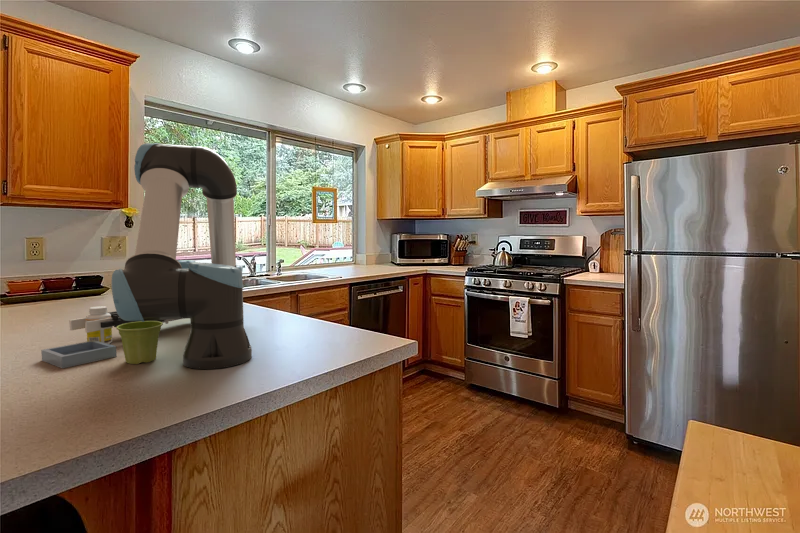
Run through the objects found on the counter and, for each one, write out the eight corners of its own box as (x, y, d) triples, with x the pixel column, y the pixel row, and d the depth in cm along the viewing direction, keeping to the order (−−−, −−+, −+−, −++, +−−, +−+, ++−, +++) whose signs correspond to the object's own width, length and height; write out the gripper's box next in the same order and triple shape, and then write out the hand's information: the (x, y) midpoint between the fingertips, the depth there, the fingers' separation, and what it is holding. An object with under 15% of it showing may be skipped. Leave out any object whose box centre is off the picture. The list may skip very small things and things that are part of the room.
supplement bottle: (110, 340, 117) (108, 304, 116) (114, 344, 113) (112, 307, 112) (85, 344, 113) (84, 307, 113) (88, 348, 109) (86, 309, 109)
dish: (116, 356, 102) (116, 346, 102) (62, 368, 92) (61, 357, 92) (95, 350, 107) (94, 340, 107) (41, 360, 98) (41, 349, 98)
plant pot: (172, 355, 103) (171, 321, 102) (145, 367, 94) (144, 329, 93) (137, 354, 104) (136, 320, 103) (107, 365, 95) (105, 328, 94)
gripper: (180, 326, 127) (103, 343, 105) (137, 321, 133) (56, 337, 112) (180, 301, 126) (101, 314, 104) (136, 298, 133) (54, 309, 111)
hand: (78, 326), depth 108 cm, fingers closed on supplement bottle, 5 cm apart
